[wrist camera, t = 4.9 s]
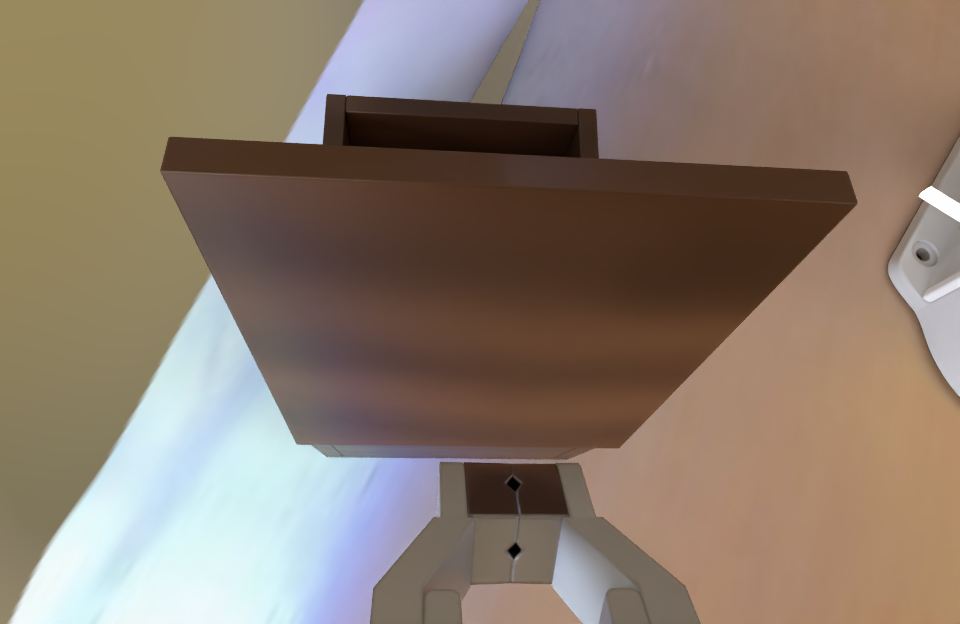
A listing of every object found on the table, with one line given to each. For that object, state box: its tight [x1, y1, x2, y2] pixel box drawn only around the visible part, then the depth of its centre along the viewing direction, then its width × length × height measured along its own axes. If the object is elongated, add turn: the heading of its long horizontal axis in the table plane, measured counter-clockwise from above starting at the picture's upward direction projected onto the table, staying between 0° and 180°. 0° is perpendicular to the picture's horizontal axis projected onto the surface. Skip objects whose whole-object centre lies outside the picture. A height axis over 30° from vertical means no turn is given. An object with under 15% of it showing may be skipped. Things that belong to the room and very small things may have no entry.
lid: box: [161, 137, 857, 448], centre depth 20 cm, size 17×13×1 cm
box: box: [312, 94, 599, 460], centre depth 34 cm, size 16×13×9 cm
